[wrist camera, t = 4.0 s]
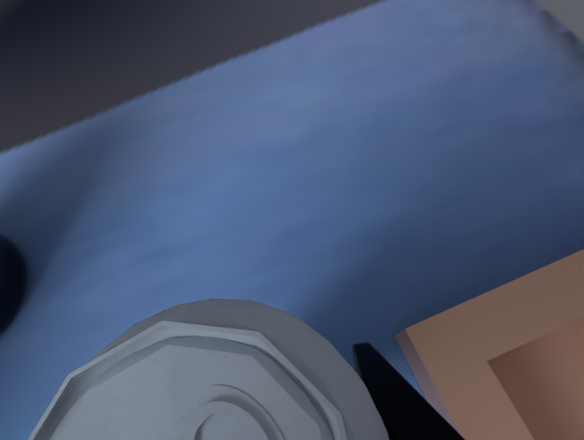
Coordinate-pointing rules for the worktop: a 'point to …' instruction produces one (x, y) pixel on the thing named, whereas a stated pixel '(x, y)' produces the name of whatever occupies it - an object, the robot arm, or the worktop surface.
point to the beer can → (214, 382)
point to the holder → (508, 358)
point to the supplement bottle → (10, 280)
